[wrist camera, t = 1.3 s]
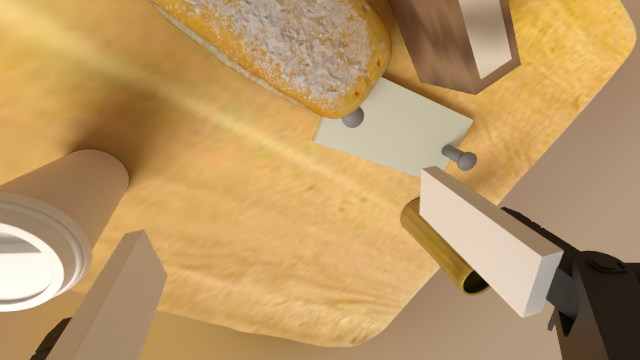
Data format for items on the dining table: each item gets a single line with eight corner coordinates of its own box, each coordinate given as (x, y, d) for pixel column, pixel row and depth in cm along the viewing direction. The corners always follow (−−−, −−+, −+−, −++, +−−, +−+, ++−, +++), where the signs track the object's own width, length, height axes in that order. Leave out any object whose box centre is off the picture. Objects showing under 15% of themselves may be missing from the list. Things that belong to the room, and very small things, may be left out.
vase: (394, 228, 46) (449, 298, 33) (408, 195, 43) (472, 257, 31) (425, 231, 48) (489, 299, 35) (440, 199, 45) (514, 259, 33)
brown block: (381, -17, 30) (436, -40, 21) (420, -45, 30) (493, -81, 21) (420, 81, 36) (477, 95, 27) (454, 58, 36) (522, 64, 27)
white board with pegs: (344, 60, 33) (361, 63, 28) (467, 118, 40) (499, 129, 35) (312, 139, 36) (322, 155, 31) (431, 180, 43) (455, 198, 38)
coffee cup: (155, 157, 33) (94, 235, 20) (129, 222, 35) (60, 329, 22) (55, 119, 29) (-104, 184, 16) (34, 195, 32) (-117, 304, 18)
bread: (329, 129, 36) (349, 149, 29) (90, -24, 25) (29, -50, 18) (395, 30, 32) (435, 26, 25) (153, -195, 22) (107, -309, 15)
